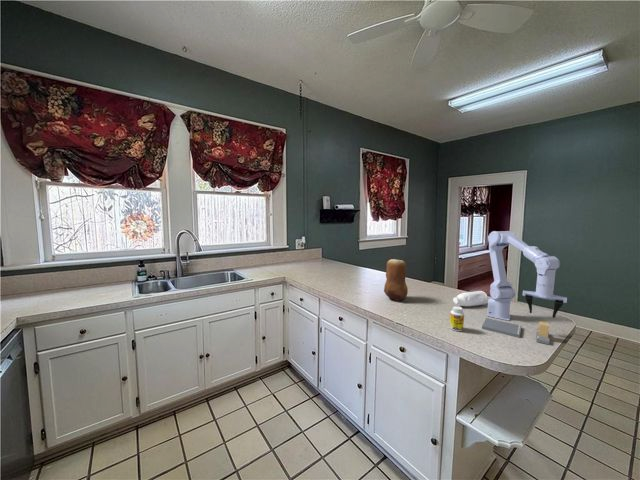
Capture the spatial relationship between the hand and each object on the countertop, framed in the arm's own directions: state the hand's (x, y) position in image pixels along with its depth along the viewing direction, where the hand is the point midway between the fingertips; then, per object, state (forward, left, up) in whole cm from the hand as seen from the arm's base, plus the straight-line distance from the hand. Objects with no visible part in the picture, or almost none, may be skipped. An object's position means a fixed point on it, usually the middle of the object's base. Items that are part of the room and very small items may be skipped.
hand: (541, 314), depth 115 cm
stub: (+1, -3, -9) cm, 10 cm away
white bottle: (-31, +20, -10) cm, 38 cm away
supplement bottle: (-30, -17, -10) cm, 35 cm away
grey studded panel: (-14, -3, -9) cm, 17 cm away
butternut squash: (-69, +4, -10) cm, 69 cm away
